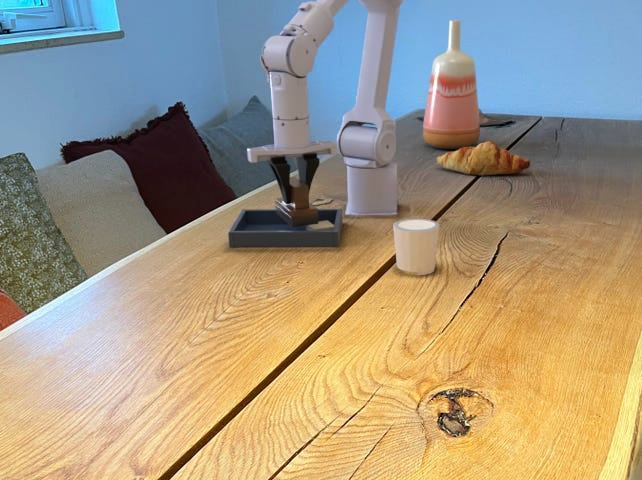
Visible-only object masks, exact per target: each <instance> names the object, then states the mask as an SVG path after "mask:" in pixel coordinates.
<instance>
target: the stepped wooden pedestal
mask: <svg viewBox="0 0 642 480" xmlns="http://www.w3.org/2000/svg"><path fill="white" fill-rule="evenodd" d="M290 193H291V204H286V203H284V202H283V198H282V197H277V198H274V205H275V206H274V207H275V208H274V209H276V214H277V215H278V216H280V217H281V218H282V219H283V220H284V221H285V222H287V223H288V224H289V225H290V226H291V227H298V226H306V225H313V224H318V209H319V208H317V207H316V206H315V205H313V203H311V202H310V192H309V191H308V185H306V184H305V183H303V182H302V181H300V180H299V178H298V177H296V176H290Z"/></svg>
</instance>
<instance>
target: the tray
mask: <svg viewBox="0 0 642 480" xmlns="http://www.w3.org/2000/svg"><path fill="white" fill-rule="evenodd" d="M317 209H318V222H319V221H327V220H328V221H329V222H330V223H332V224H333V225H334V230H333V231H307V230H306V226H298V227H291V226H290V225H289V224H288V223H287V222H285V221H284V220H283V219H282V218H281V217H280V216H278V215H277V214H276V209H275V208H272V209H271V208H265V209H263V208H261V209H260V208H257V209H256V208H255V209H253V208H252V209H247V208H245V209H243V208H242V209H241V210H240V212H239V214H238V216H237V217H236V219H235V220H234V222H233V224H232V225H231V227H230V228H229V230H228V232H227V234H228V244H229V245H228V246H229V249H231V248H232V249H234V248H235V249H236V248H238V249H239V248H241V249H243V248H244V249H246V248H248V249H249V248H251V249H252V248H255V249H257V248H260V249H261V248H262V249H264V248H339V247H340V240H341V235H342V229H343V223H344V222H343V220H344V219H343V208H317Z"/></svg>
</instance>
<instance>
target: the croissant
mask: <svg viewBox="0 0 642 480" xmlns="http://www.w3.org/2000/svg"><path fill="white" fill-rule="evenodd" d="M436 163H437V164H438V165H439V166H440V167H441V168H444V169H447V170H449V171H454V172H457V173H461V174H465V175H472V176H473V175H474V176H475V175H476V176H492V175H495V176H496V175H513V174H518V173H521V172H523V171H525V170H527V169H529V168H530V167H531V160H530V159H528V158H522V157H521V156H520V155H517V154H512V153H510V152H509V151H508V150H507V149H504V148H500V147H499V146H498V144H496V143H495V142H493V141H490V140H489V141H484V142H480V143H479V144H478V145H476V146H470V147H463V148H461V149H456V150H455V151H454V150H453V151H448V152H446V153H445V154H443V155H439V156H438V157H437V158H436Z"/></svg>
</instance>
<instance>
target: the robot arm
mask: <svg viewBox="0 0 642 480" xmlns="http://www.w3.org/2000/svg"><path fill="white" fill-rule="evenodd" d="M349 1H350V0H316V1H314V0H309V1H305V2H302V3H301V4H300V5H299V6H298V11H297V13H296V14H295V15H294V16H293V17H292V19H291V20H290V21H289V22H288V23H287V24H285V26H284V27H283V28H282V31H281V32H280V33H279V35H272V36H270V37H269V38H267V40H266V41H265V42H264V44H263V46H262V49H261V55H259V61H260V65H261V67H262V69H263V70H264V72H265V74H266V82H267V84H268V86H269V87H270V97H271V111H272V126H273V127H272V129H273V140H274V141H273V142H274V144H273V143H272V144H266V145H262V146H257V147H249V148H246V150H247V151H246V152H247V161H248V162H249V163H251V164H255V163H258V162H267V165H268V166H269V168H270V170H271V171H272V174H273V175H274V177H275V180H276V182H277V185H278V187H279V190H280V193H281V198H283V202H284V203H286V204H291V193H290V177H291V167H292V166H291V165H290V164H289V163H288V160H287V159H293V158H295V159H296V164H297V165H296V166H297V172H298V179H299V180H300V181H302V182H303V183H305V184H306V185H308V191H309V193H310V192H311V187H312V184H313V180H314V177H315V175H316V172H317V171H318V168H319V166H320V163H321V161H320V160H321V159H320V158H319V157H318V156H323V155H324V156H326V155H331V156H335V155H338V154H339V156H340V157H341V158H343V164H346V175H347V176H346V177H347V203H346V207H345V208H346V209H345V213H344V215H347V216H361V215H362V216H364V215H365V216H367V215H369V216H372V215H373V216H374V215H381V216H382V215H383V216H386V215H388V216H389V215H397V214H398V205H399V204H400V195H399V194H398V164H397V163H391V161H392V160H393V158H394V156H395V154H396V150H397V138H396V128H397V123H396V121H395V120H394V119H393V118H392V117H391V116H390V115H389V114H388V112H387V111H386V105H387V99H388V93H389V86H390V78H391V72H392V64H393V58H394V52H395V51H394V50H395V44H396V37H397V31H398V25H399V18H400V10H401V6H402V4H403V1H404V0H357V2H358V3H359V4H360V5H362V6H364V7H365V9H366V11H367V20H366V26H365V27H366V28H365V36H364V41H363V48H362V56H361V63H360V70H359V78H358V85H357V93H356V100H355V105H354V106H353V107H352V108H351V109H350V110H349V111H347V112H346V113H345V114H344V115H343V116H342V123H341V126H340V129H339V131H338V133H337V136H336V141H334V140H320V141H319V140H317V141H316V140H315V141H312V140H311V129H310V113H309V112H310V111H309V110H310V109H309V92H308V91H309V90H308V89H309V88H308V75H309V74H310V73H311V72H312V71H313V69H314V66H315V60H316V55H318V50H319V48H320V47H321V45H322V44H323V43H324V42H325V41H326V39H327V38H328V36H329V35H330V34H331V33H332V31H333V30H334V27H335V21H334V17H335V16H336V15H337V14H338V13H339V12H340V11H341V10H342V8H343V7H344V6H345V5H346V4H347V3H348V2H349ZM367 125H370V126H367ZM375 126H376V127H375Z"/></svg>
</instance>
